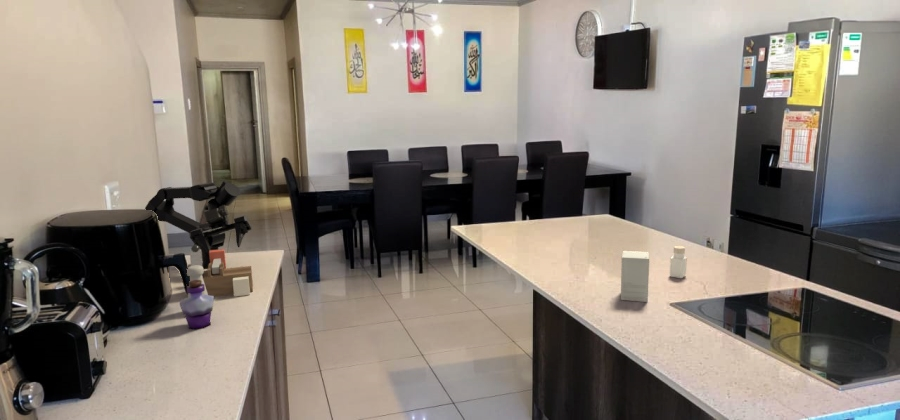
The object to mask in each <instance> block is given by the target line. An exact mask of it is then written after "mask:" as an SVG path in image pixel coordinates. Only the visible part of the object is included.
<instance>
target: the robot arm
mask: <svg viewBox="0 0 900 420" xmlns="http://www.w3.org/2000/svg"><path fill="white" fill-rule="evenodd" d="M156 192H157V193H156V194H155V195H154V196H153V197H152V198H151V199H149V201H148V202H147V204H146V205H145V208H144V210H145V209H146V210H152V211H154V212H155V213H156V214H157V216H158V220H159V221H158V222H166V223H168V224H170V225H171V226H174V227H176V228H177V229H180V230H182V231H184V232H186V233H188V234H189V235H188V236H189V238H190V240H191V242H192V243H193V245H198V246H199V247H200V249H201V253H202V267H203V269H208V266H209V263H210V256H209V251H210V250H220V249H219V248H221V247H224V245H225V240H226V233H228V232H230V231H234V230H235V239H236V242H235V243H236V246H237V248H241V245H242V241H243V239H244V238H245V236H246V234H247V233H248V232H249V231H251V230H252V225H251V222H250V220H249V219H248V216H246V215H240V216H238V217H234V218H233V222H234V223H233V222H232V223H229V218H228V217H229V216H228V215H229V212H228V209H227V207H230V206H231V205H232V204H233V203H234V202H235V201H236V200H237V198H239V196H240V195H241V189H240V188H239V187H238V186H237V185H235V184H234V183H231V182H230V181H229V180H225V181H223V182H222V183H221V184H220V186H218V185H216V184H215V182H211V181H210V182H206V183H199V184H195V185H192V186H178V187H172V186H169V187H163V188H159V190H157V191H156ZM174 199H191V200H193V201H196V202H203V201H207V203H206V205H205V206H204V212H203V214H204V219H205V222H206V223H201V222H198V221H197V220H195V219H193V218H190V217H189V216H187V215H184V214H183V213H180V212H178V211H176V210H175V209H174V206H175V200H174Z"/></svg>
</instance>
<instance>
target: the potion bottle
mask: <svg viewBox="0 0 900 420" xmlns="http://www.w3.org/2000/svg"><path fill="white" fill-rule="evenodd" d="M201 282H202V281H201V280H193V281H189V286H187V285H186V293H187V294H188V293H190V295H191V296H190V297H188V296H187V297H185V298H182V299H181V300H180V301H179V306H180V310H181V311H182V314H183V315H184V317H185V320H186V323H187V325H188V329H190V330H194V331H195V330H201V329H205V328H208V327H210V326H212V325H211V323H212V322H211V317H212V312H213V307H214V299H215V296H210V295H202V292H203V291H205V287H204V284H201Z"/></svg>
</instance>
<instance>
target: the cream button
mask: <svg viewBox="0 0 900 420" xmlns="http://www.w3.org/2000/svg"><path fill="white" fill-rule="evenodd" d="M233 289H234V294H233V297H243V296H250V294H251V292H250V287H249V276H247V277H238V278H233Z"/></svg>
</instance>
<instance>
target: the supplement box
mask: <svg viewBox="0 0 900 420" xmlns="http://www.w3.org/2000/svg"><path fill="white" fill-rule="evenodd" d="M649 253H650V252H648V251H635V250H634V251H633V250H632V251H629V250H623V251H622V254H621V267H620V268H621V276H620V278H621V279H620V301H628V302H629V301H631V302H643V303H644V302H645V303H648V299H649V283H650V282H649V276H650V254H649Z"/></svg>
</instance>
